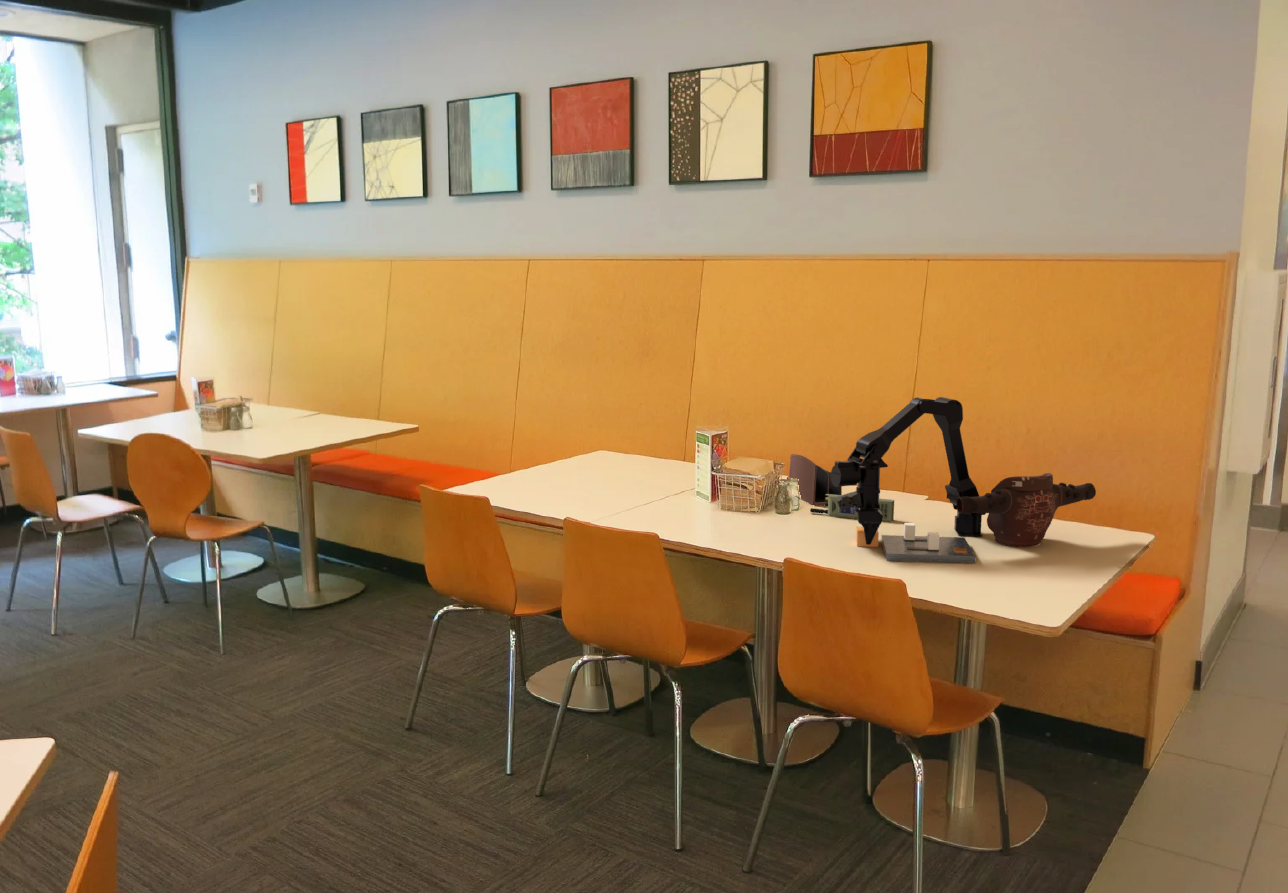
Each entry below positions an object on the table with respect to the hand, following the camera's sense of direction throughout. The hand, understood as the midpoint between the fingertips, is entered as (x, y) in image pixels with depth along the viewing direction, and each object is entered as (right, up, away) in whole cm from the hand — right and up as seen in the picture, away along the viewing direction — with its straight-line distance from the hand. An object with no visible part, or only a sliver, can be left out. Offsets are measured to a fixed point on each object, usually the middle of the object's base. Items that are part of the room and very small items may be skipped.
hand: (867, 539), depth 286 cm
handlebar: (+42, -1, -1) cm, 42 cm away
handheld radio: (+1, +4, +29) cm, 30 cm away
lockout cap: (0, -1, 0) cm, 1 cm away
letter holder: (-6, +8, +54) cm, 55 cm away
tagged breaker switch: (+14, -1, -13) cm, 19 cm away
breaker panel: (+14, -3, -9) cm, 17 cm away
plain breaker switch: (+11, +1, -4) cm, 11 cm away
